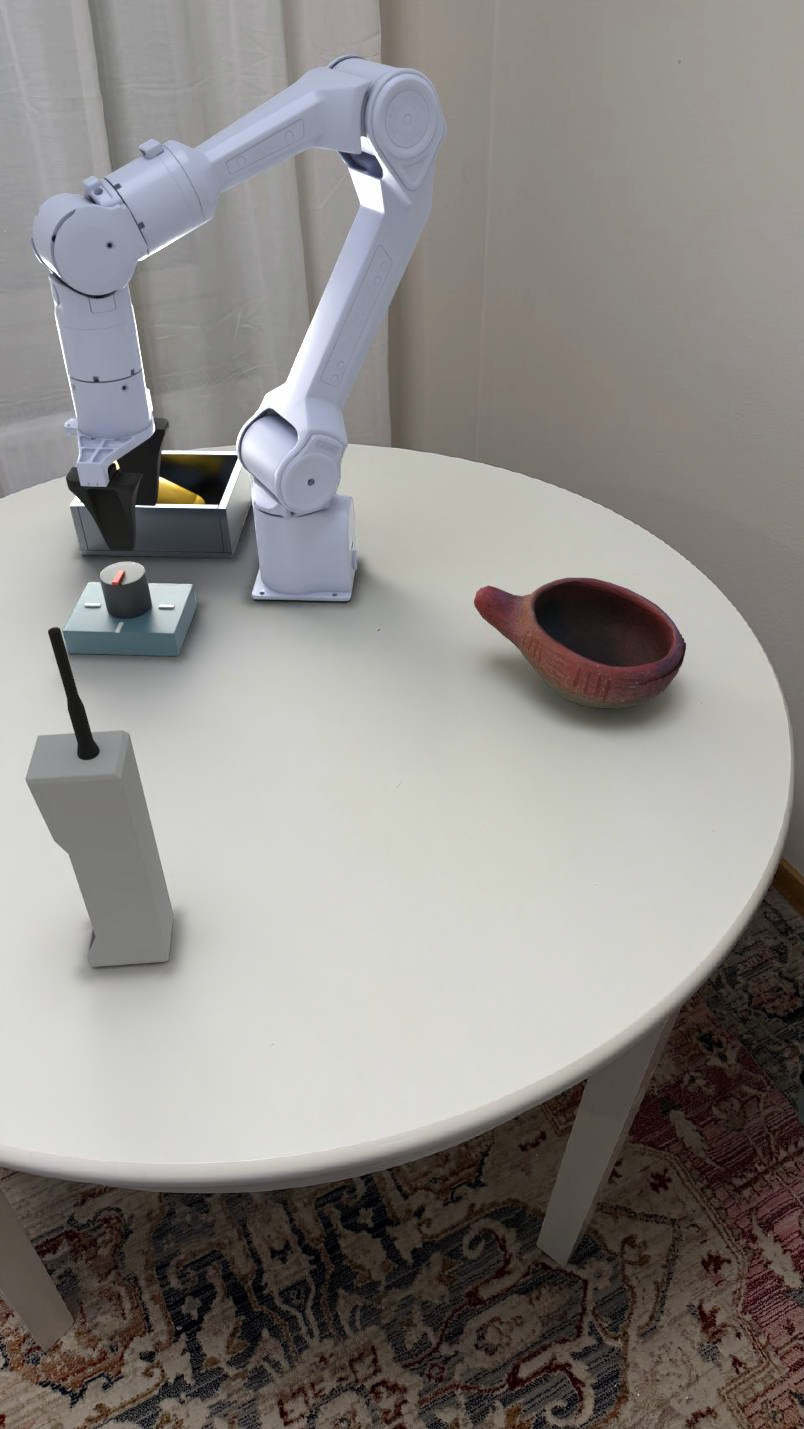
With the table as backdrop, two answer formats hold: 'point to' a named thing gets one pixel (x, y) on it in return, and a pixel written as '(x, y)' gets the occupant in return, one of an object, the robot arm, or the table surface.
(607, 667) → the bowl
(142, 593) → the rotary knob
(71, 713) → the vintage mobile phone
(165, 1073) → the table surface
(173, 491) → the yellow disc and capsule
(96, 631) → the dial base
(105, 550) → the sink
